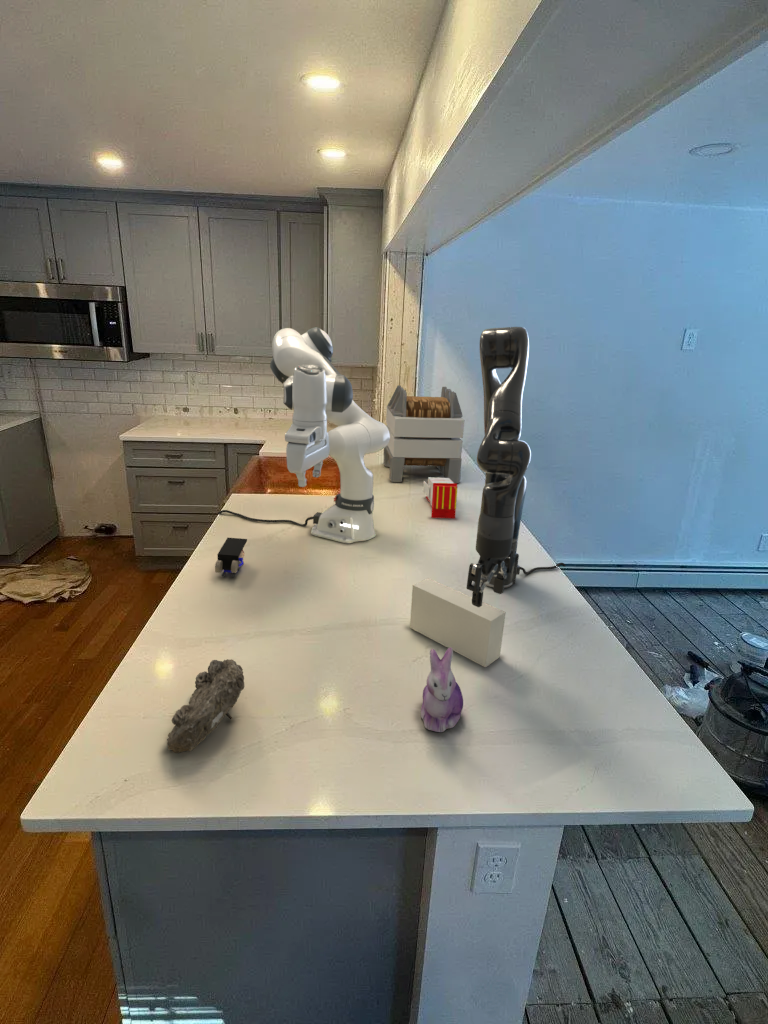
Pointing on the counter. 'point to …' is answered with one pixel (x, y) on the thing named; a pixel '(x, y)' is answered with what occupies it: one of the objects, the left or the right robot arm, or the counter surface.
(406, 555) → the counter surface
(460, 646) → the box
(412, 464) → the transformer
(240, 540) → the black toy rover
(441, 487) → the toy
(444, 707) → the figurine
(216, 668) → the fossil
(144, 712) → the counter surface
